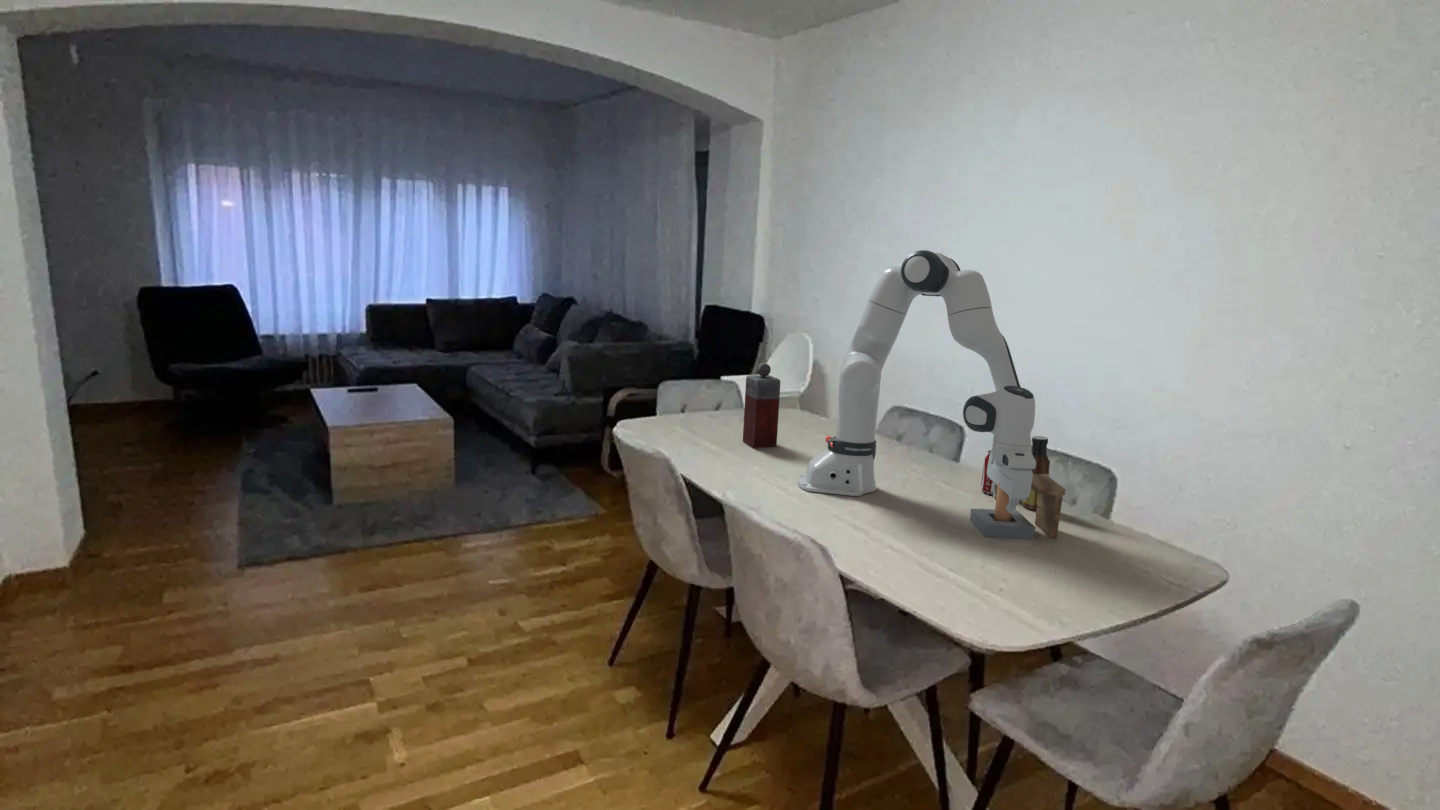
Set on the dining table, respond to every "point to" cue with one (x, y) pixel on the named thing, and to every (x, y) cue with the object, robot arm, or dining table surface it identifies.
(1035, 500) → the sauce bottle
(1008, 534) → the socket
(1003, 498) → the peg
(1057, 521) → the wooden l-shaped bracket
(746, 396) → the red grey knobbed box
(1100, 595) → the dining table surface
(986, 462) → the soda can
